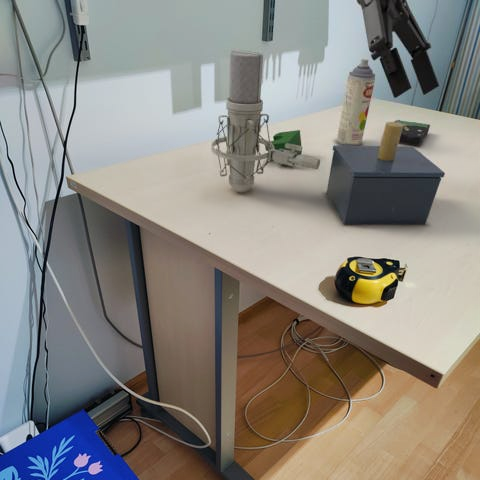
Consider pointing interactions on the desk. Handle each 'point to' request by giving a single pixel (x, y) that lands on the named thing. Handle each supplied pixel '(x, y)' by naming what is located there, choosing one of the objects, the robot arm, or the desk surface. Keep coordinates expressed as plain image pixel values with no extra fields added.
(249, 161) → the microphone
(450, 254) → the desk surface
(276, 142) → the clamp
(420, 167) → the lid
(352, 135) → the aerosol can
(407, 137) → the disk drive
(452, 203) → the desk surface
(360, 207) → the bin
